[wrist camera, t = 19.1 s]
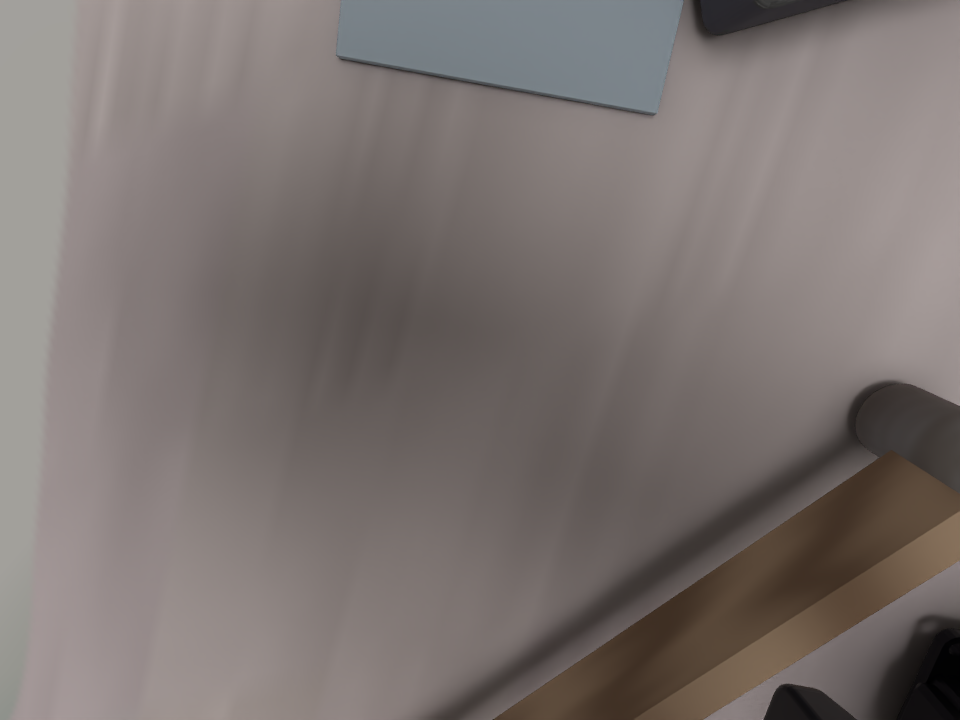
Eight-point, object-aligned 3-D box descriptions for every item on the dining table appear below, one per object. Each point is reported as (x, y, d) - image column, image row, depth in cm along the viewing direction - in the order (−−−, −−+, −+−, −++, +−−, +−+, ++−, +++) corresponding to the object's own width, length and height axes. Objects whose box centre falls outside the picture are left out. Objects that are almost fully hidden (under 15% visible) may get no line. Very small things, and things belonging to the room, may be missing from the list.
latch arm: (908, 368, 18) (1059, 431, 13) (948, 424, 18) (1109, 504, 14) (368, 748, 23) (333, 898, 18) (410, 785, 23) (388, 941, 18)
